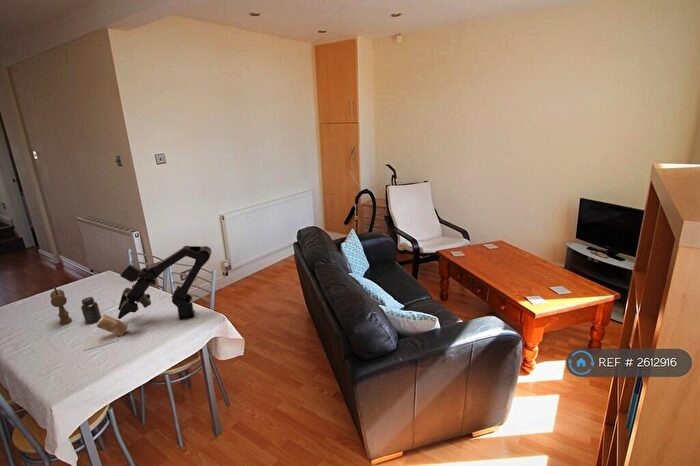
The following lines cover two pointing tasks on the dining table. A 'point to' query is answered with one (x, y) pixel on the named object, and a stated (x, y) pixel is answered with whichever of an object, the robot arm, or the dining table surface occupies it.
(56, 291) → the kendama
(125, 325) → the walnut block
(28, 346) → the dining table surface
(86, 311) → the supplement bottle
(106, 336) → the felt pad
